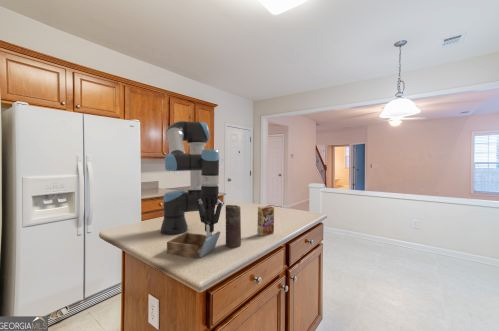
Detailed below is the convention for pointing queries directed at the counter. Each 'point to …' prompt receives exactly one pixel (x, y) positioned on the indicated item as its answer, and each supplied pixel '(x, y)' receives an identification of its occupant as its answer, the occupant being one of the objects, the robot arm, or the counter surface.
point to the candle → (233, 226)
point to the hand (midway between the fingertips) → (209, 239)
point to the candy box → (265, 220)
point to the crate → (186, 245)
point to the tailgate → (209, 244)
